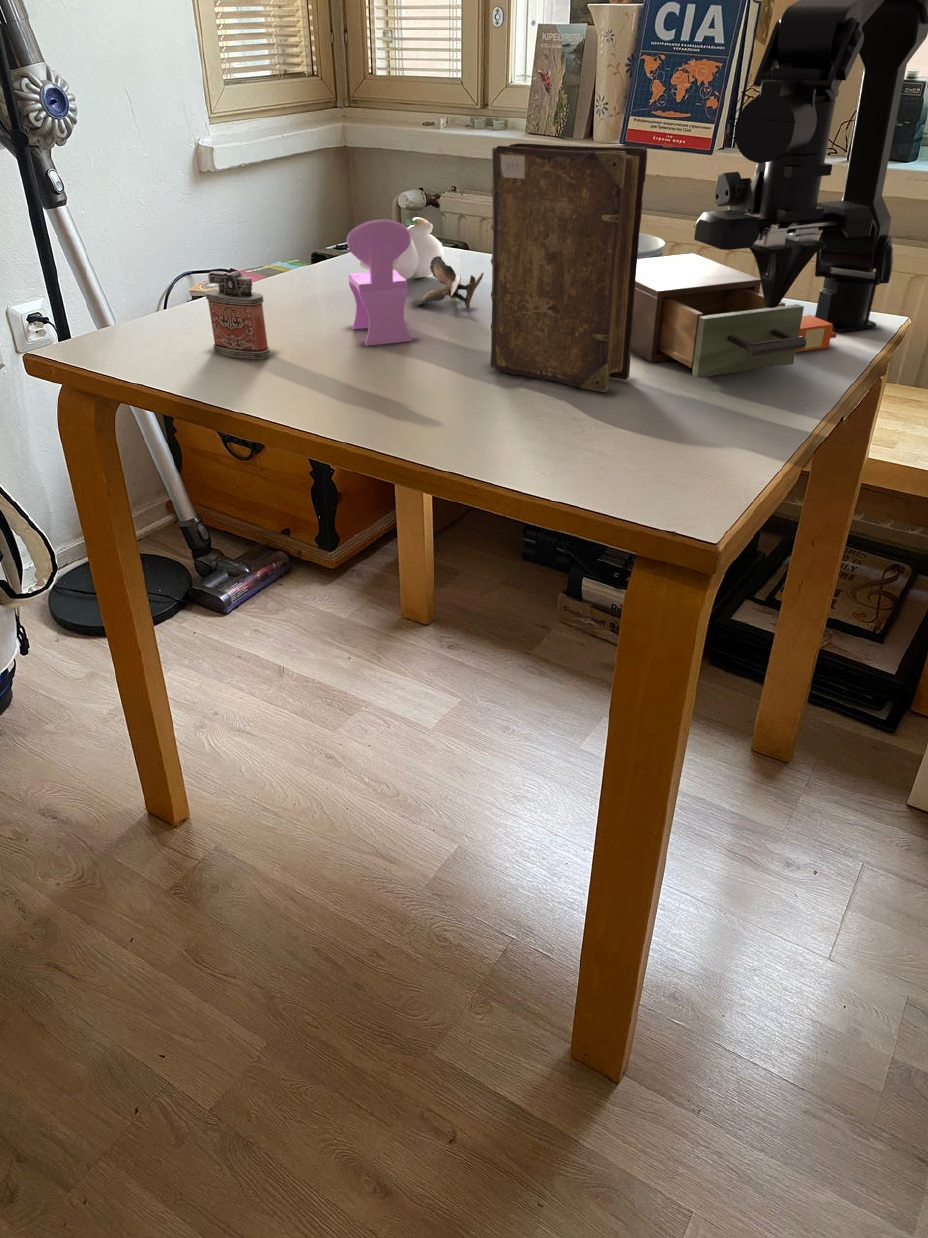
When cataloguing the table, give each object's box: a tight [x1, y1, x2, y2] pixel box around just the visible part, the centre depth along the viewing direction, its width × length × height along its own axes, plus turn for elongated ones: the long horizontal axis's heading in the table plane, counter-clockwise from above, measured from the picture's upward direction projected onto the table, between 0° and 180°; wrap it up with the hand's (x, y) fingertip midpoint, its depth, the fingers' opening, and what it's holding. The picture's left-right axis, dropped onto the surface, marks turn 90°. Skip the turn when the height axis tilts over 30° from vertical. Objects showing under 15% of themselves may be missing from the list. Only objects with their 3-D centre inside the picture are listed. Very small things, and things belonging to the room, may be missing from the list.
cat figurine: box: [359, 216, 445, 281], centre depth 151 cm, size 10×8×15 cm
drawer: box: [658, 288, 806, 379], centre depth 113 cm, size 20×13×7 cm
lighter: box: [204, 270, 271, 360], centre depth 119 cm, size 8×3×10 cm, turn 65°
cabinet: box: [631, 253, 762, 363], centre depth 123 cm, size 16×15×9 cm
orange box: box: [796, 314, 837, 353], centre depth 121 cm, size 5×7×3 cm
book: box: [489, 142, 648, 393], centre depth 107 cm, size 17×7×25 cm, turn 54°
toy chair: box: [346, 218, 413, 347], centre depth 124 cm, size 8×9×15 cm
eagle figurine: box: [415, 256, 485, 311], centre depth 138 cm, size 8×7×9 cm
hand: (770, 306), depth 105 cm, fingers closed
